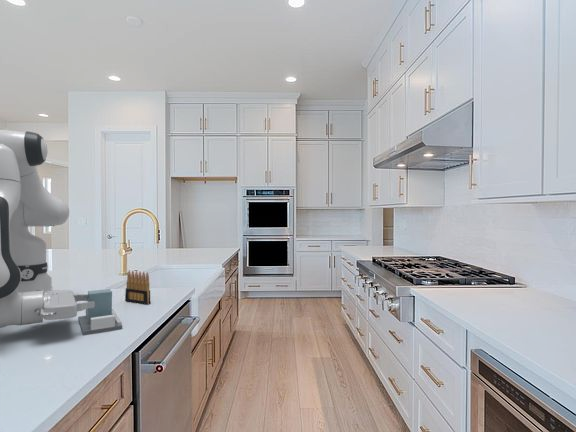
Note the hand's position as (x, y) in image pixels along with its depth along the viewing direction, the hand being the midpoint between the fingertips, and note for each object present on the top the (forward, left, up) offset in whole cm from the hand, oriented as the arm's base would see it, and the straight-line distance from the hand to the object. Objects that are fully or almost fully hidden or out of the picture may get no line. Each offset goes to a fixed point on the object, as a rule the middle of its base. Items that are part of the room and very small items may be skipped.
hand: (92, 300), depth 104 cm
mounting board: (0, +2, -8) cm, 8 cm away
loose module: (0, +2, -7) cm, 7 cm away
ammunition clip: (-20, +17, -8) cm, 27 cm away
